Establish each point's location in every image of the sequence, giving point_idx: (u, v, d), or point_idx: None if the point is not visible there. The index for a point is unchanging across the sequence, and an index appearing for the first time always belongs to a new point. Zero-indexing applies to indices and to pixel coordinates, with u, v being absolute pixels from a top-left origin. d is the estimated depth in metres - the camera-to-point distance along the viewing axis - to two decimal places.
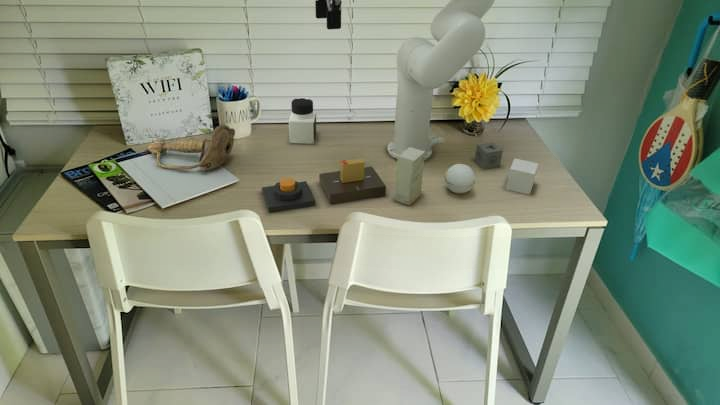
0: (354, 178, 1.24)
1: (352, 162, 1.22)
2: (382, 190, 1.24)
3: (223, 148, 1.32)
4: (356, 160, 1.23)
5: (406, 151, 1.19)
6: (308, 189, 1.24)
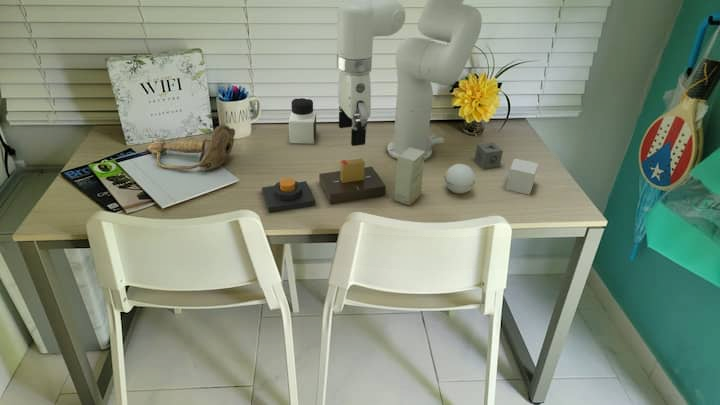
0: (354, 178, 1.24)
1: (352, 162, 1.22)
2: (382, 190, 1.24)
3: (223, 148, 1.32)
4: (356, 160, 1.23)
5: (406, 151, 1.19)
6: (308, 189, 1.24)
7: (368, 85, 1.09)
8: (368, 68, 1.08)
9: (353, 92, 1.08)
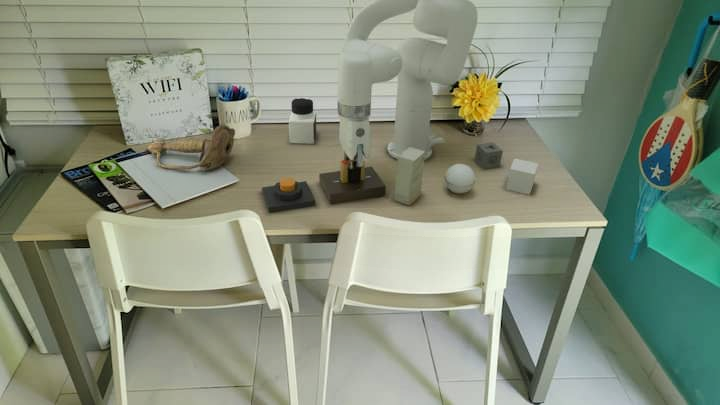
0: None
1: None
2: (382, 190, 1.24)
3: (223, 148, 1.32)
4: (356, 160, 1.23)
5: (406, 151, 1.19)
6: (308, 189, 1.24)
7: (368, 129, 1.14)
8: (367, 113, 1.14)
9: (353, 137, 1.14)
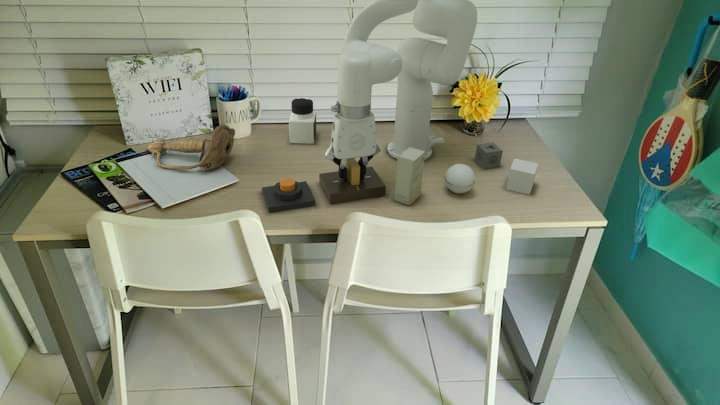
0: (348, 177, 1.25)
1: (350, 161, 1.23)
2: (382, 190, 1.24)
3: (223, 148, 1.32)
4: (355, 163, 1.22)
5: (406, 151, 1.19)
6: (308, 189, 1.24)
7: (336, 128, 1.14)
8: (344, 115, 1.13)
9: (332, 127, 1.18)
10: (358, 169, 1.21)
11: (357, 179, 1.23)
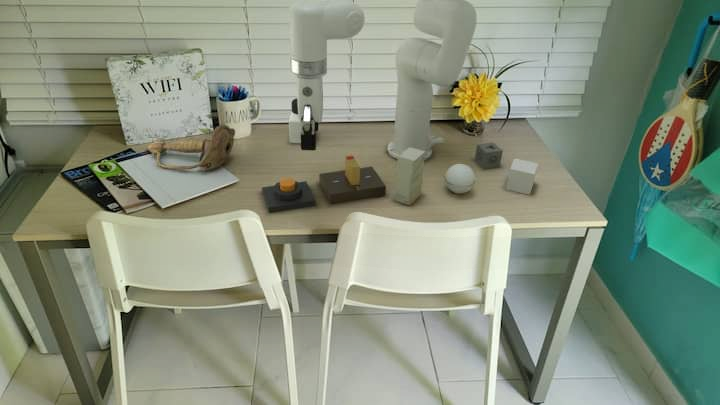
0: (348, 177, 1.25)
1: (350, 161, 1.23)
2: (382, 190, 1.24)
3: (223, 148, 1.32)
4: (355, 163, 1.22)
5: (406, 151, 1.19)
6: (308, 189, 1.24)
7: (316, 89, 1.05)
8: (318, 72, 1.04)
9: (299, 95, 1.05)
10: (358, 169, 1.21)
11: (357, 179, 1.23)
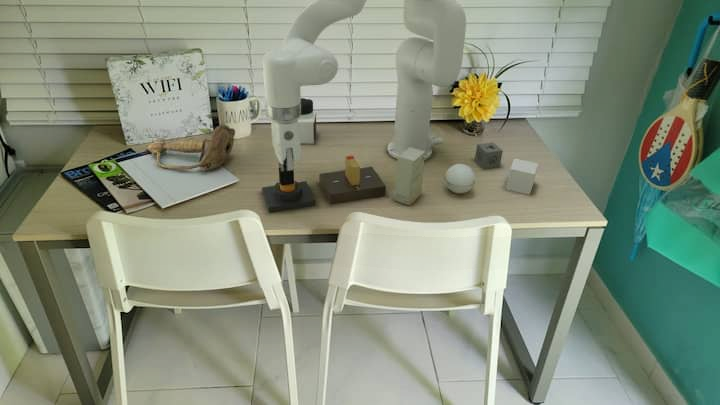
0: (348, 177, 1.25)
1: (350, 161, 1.23)
2: (382, 190, 1.24)
3: (223, 148, 1.32)
4: (355, 163, 1.22)
5: (406, 151, 1.19)
6: (308, 189, 1.24)
7: (297, 132, 1.09)
8: (296, 115, 1.08)
9: (281, 140, 1.08)
10: (358, 169, 1.21)
11: (357, 179, 1.23)
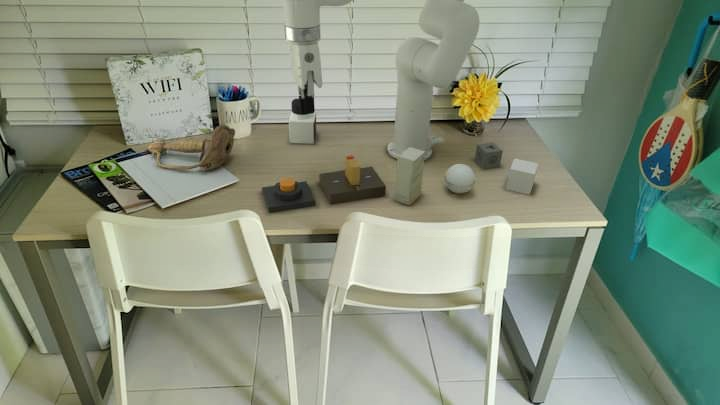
0: (348, 177, 1.25)
1: (350, 161, 1.23)
2: (382, 190, 1.24)
3: (223, 148, 1.32)
4: (355, 163, 1.22)
5: (406, 151, 1.19)
6: (308, 189, 1.24)
7: (317, 54, 1.07)
8: (316, 37, 1.07)
9: (302, 62, 1.07)
10: (358, 169, 1.21)
11: (357, 179, 1.23)
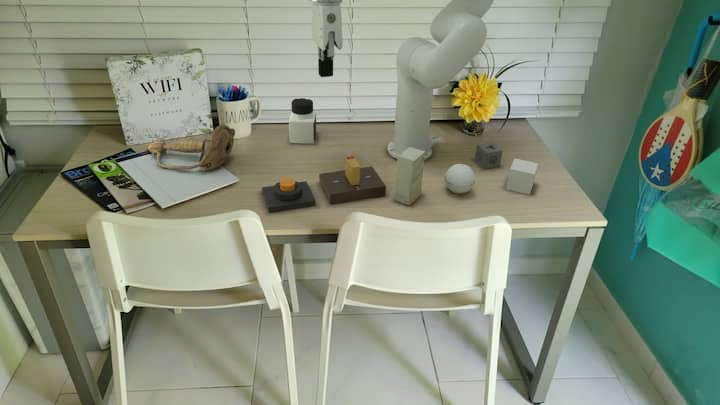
0: (348, 177, 1.25)
1: (350, 161, 1.23)
2: (382, 190, 1.24)
3: (223, 148, 1.32)
4: (355, 163, 1.22)
5: (406, 151, 1.19)
6: (308, 189, 1.24)
7: (339, 15, 1.11)
8: None
9: (324, 23, 1.11)
10: (358, 169, 1.21)
11: (357, 179, 1.23)
